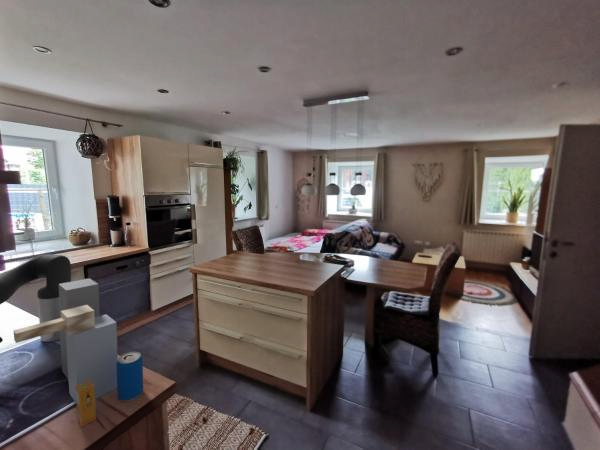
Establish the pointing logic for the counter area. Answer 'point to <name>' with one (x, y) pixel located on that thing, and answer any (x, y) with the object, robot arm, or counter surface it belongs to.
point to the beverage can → (129, 376)
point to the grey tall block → (93, 357)
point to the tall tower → (74, 297)
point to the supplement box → (85, 402)
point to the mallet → (60, 324)
